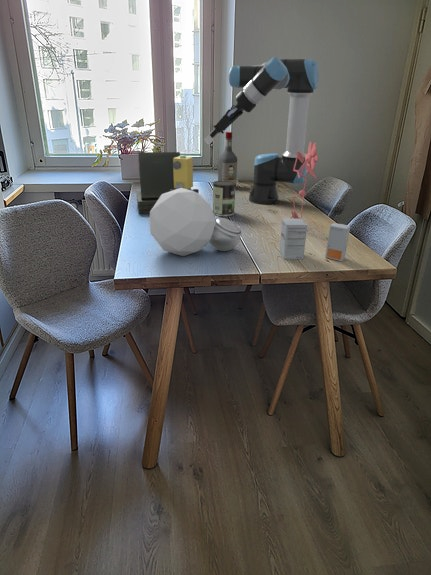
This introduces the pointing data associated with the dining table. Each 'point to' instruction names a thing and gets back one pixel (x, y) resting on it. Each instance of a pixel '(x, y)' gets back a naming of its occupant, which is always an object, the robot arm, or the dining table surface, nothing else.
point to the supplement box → (293, 238)
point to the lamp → (190, 224)
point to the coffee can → (223, 198)
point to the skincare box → (337, 241)
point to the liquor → (227, 162)
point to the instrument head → (183, 171)
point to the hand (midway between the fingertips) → (206, 141)
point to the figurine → (310, 167)
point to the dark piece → (154, 178)
